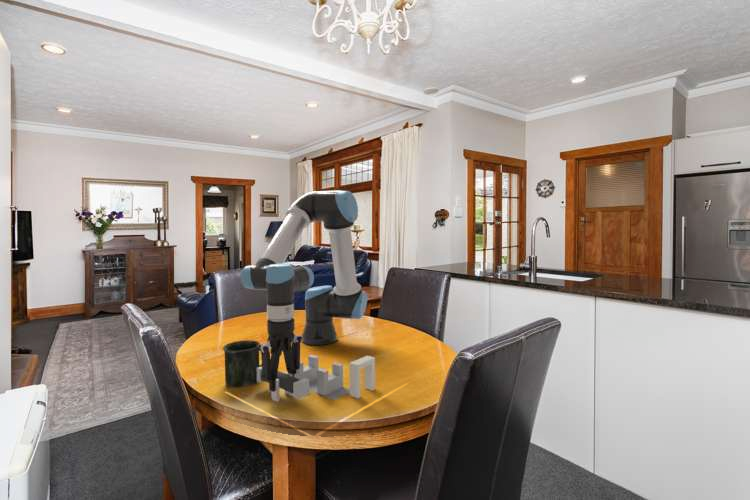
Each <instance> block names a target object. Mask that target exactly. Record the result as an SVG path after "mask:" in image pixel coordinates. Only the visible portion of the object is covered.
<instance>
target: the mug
mask: <svg viewBox="0 0 750 500" xmlns="http://www.w3.org/2000/svg"><path fill="white" fill-rule="evenodd" d="M260 345H261V342H259V341H256V340H252V339H251V340H250V339H247V340H238V341H233V342H230V343H226V344H225V345H224V346H223V347H222V350H223V351H224V378H225V380H224V381H225V385H226V386H227V387H228V388H230V387H231V388H243V387H248V386H252V385H254V384H256V383H258V382H257V368H258V367H261V366H262V363H261V364H260V352H261V351H260V349H259V346H260Z"/></svg>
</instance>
